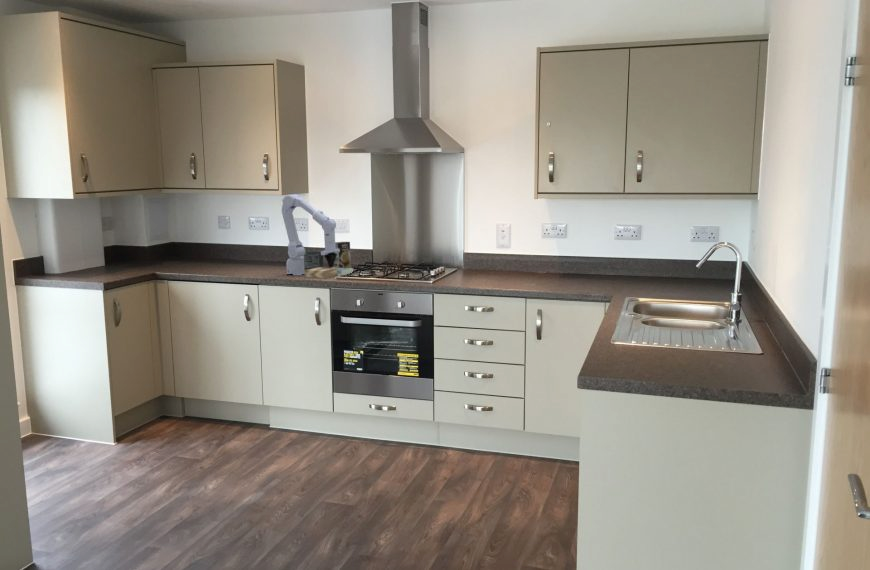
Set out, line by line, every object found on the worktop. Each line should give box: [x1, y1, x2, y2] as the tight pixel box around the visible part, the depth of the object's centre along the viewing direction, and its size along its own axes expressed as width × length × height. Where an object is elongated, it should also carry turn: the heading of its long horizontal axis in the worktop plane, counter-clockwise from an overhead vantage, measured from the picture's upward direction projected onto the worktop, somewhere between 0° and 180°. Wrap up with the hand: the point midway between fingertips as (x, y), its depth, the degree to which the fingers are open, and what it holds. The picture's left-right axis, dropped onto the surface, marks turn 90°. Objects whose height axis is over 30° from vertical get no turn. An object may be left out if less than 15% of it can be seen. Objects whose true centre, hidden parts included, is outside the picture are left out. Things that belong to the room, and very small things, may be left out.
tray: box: [337, 267, 355, 277], centre depth 401 cm, size 14×11×2 cm
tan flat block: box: [305, 267, 338, 279], centre depth 393 cm, size 13×11×4 cm
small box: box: [304, 250, 325, 270], centre depth 426 cm, size 11×6×10 cm, turn 80°
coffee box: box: [332, 241, 352, 268], centre depth 414 cm, size 9×6×16 cm
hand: (331, 266), depth 396 cm, fingers closed
